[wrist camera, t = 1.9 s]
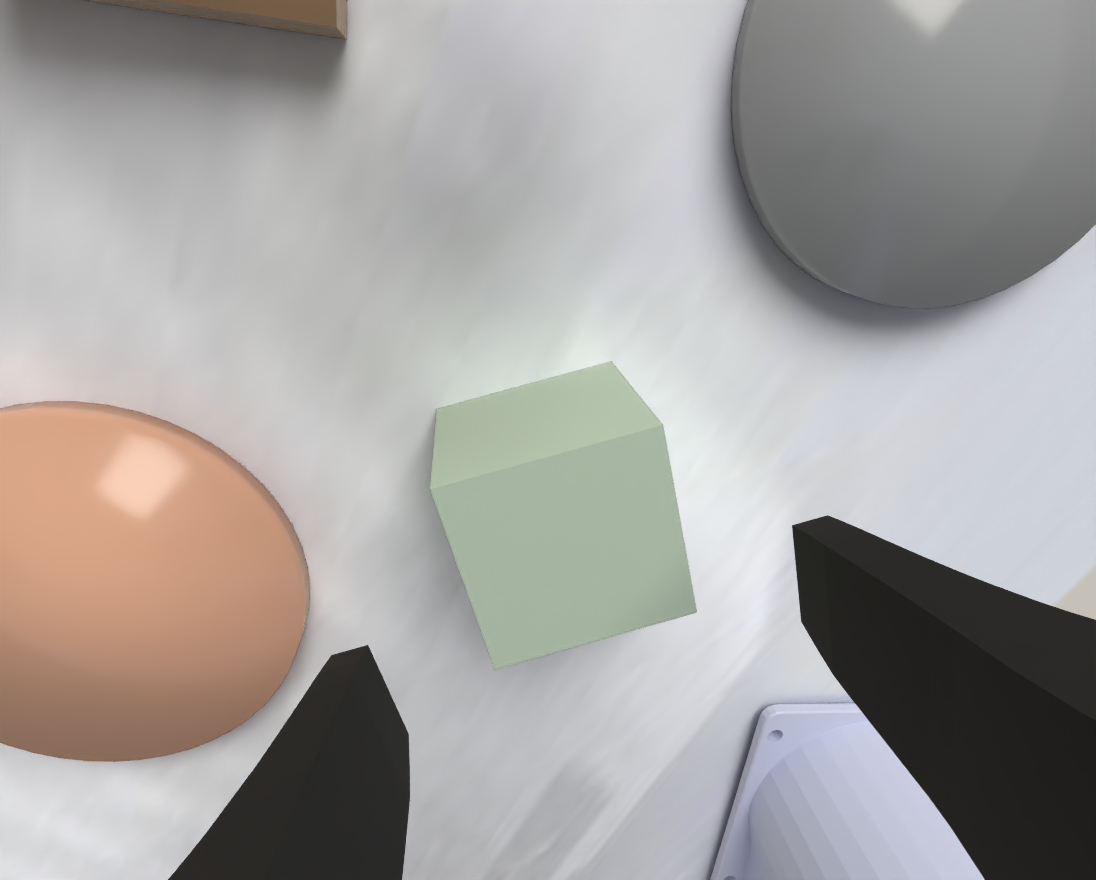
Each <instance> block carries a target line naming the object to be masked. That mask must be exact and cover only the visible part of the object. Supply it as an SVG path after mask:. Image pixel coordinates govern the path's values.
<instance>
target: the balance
mask: <svg viewBox="0 0 1096 880" xmlns="http://www.w3.org/2000/svg"><path fill="white" fill-rule="evenodd" d="M86 1H93V2H99V3H106V4H113V5H120V6H126V7H133V8H140V9H146V10H153V11H160V12H167V13H173V14H180V15H187V16H194V17H200V18H207V19H214V20H220V21H227V22H234V23H241V24H247V25H254V26H261V27H267V28H274V29H281V30H288V31H294V32H301V33H308V34H314V35H321V36H328V37H335V38H341V39H347V0H86Z"/></svg>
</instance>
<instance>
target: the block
mask: <svg viewBox="0 0 1096 880" xmlns="http://www.w3.org/2000/svg"><path fill="white" fill-rule="evenodd" d="M430 491H431V494H432V496H433V499H434V502H435V505H436V507H437V510H438V513H439V516H440V519H441V521H442V524H443V527H444V530H445V533H446V535H447V538H448V541H449V544H450V547H451V549H452V552H453V555H454V558H455V561H456V563H457V566H458V569H459V572H460V575H461V577H462V580H463V583H464V586H465V589H466V591H467V594H468V597H469V600H470V603H471V605H472V608H473V611H474V614H475V616H476V619H477V622H478V625H479V628H480V630H481V633H482V636H483V639H484V642H485V644H486V647H487V650H488V653H489V656H490V658H491V661H492V664H493V667H494V670H495V669H499V668H503V667H506V666H510V665H513V664H517V663H520V662H524V661H527V660H531V659H534V658H538V657H541V656H545V655H548V654H552V653H555V652H559V651H562V650H566V649H570V648H573V647H577V646H580V645H584V644H587V643H591V642H594V641H598V640H601V639H605V638H608V637H612V636H615V635H619V634H622V633H626V632H629V631H633V630H636V629H640V628H644V627H647V626H651V625H654V624H658V623H661V622H665V621H668V620H672V619H675V618H679V617H682V616H686V615H689V614H693V613H696V612H697V610H696V604H695V599H694V593H693V588H692V582H691V577H690V571H689V566H688V560H687V554H686V549H685V543H684V538H683V532H682V527H681V521H680V516H679V510H678V505H677V499H676V493H675V488H674V482H673V477H672V471H671V466H670V460H669V455H668V449H667V444H666V438H665V432H664V427H663V424H662V423H661V422H660V420H659V419H658V418H657V417H656V415H655V414H654V413H653V412H652V411H651V409H650V408H649V407H648V406H647V404H646V403H645V402H644V401H643V399H642V398H641V397H640V396H639V395H638V393H637V392H636V391H635V390H634V388H633V387H632V386H631V385H630V383H629V382H628V381H627V380H626V378H625V377H624V376H623V375H622V374H621V372H620V371H619V370H618V369H617V367H616V366H615V365H614V364H613V362H612V361H610V362H606V363H603V364H599V365H595V366H592V367H588V368H584V369H581V370H577V371H573V372H570V373H566V374H562V375H559V376H555V377H551V378H548V379H544V380H540V381H536V382H533V383H529V384H525V385H522V386H518V387H514V388H511V389H507V390H503V391H500V392H496V393H492V394H489V395H485V396H481V397H478V398H474V399H470V400H467V401H463V402H459V403H456V404H452V405H448V406H445V407H441V408H437V411H436V423H435V435H434V447H433V458H432V470H431V482H430Z"/></svg>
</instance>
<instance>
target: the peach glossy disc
mask: <svg viewBox="0 0 1096 880" xmlns="http://www.w3.org/2000/svg"><path fill="white" fill-rule="evenodd" d="M309 600H310V583H309V574H308V567H307V563H306V559H305V556H304V552H303V548H302V546H301V543H300V541H299V539H298V537H297V534H296V532H295V530H294V527H293V525H292V524H291V522H290V521H289V519H288V517H287V516H286V514H285V513H284V511H283V509H282V508H281V506H280V505H279V503H278V502H277V501H276V500H275V499H274V497H273V496H272V495H271V494H270V492H269V491H268V490H267V489H266V488H265V486H264V485H263V484H262V483H261V482H260V481H259V480H258V479H256V478H255V477H254V476H253V475H252V474H251V473H250V472H249V471H248V470H247V469H246V468H245V467H244V466H243V465H241V464H240V463H239V462H237V461H236V460H235V459H233V458H232V457H231V456H229V455H228V454H227V453H225V452H224V451H223V450H221V449H220V448H218V447H216V446H215V445H213V444H211V443H210V442H208V441H206V440H204V439H203V438H201V437H199V436H198V435H196V434H194V433H192V432H189V431H187V430H185V429H183V428H181V427H179V426H176V425H174V424H172V423H170V422H167V421H164V420H161V419H158V418H156V417H153V416H150V415H147V414H144V413H141V412H137V411H133V410H128V409H124V408H119V407H115V406H110V405H104V404H95V403H86V402H77V401H44V402H35V403H27V404H18V405H12V406H8V407H4V408H0V743H3V744H5V745H8V746H12V747H15V748H19V749H22V750H26V751H29V752H33V753H37V754H43V755H48V756H53V757H58V758H65V759H74V760H83V761H113V762H115V761H130V760H142V759H148V758H154V757H161V756H166V755H170V754H174V753H178V752H181V751H185V750H189V749H192V748H194V747H197V746H199V745H202V744H205V743H207V742H210V741H212V740H214V739H216V738H218V737H220V736H222V735H224V734H226V733H228V732H230V731H231V730H233V729H234V728H236V727H237V726H239V725H240V724H242V723H243V722H245V721H246V720H248V719H249V718H250V717H251V716H253V715H254V714H255V713H256V712H257V711H258V710H259V709H260V708H261V707H263V706H264V705H265V704H266V703H267V701H268V700H269V699H270V698H271V697H272V695H273V694H274V693H275V692H276V691H277V690H278V688H279V687H280V685H281V683H282V682H283V680H284V678H285V677H286V675H287V674H288V672H289V670H290V667H291V665H292V662H293V660H294V657H295V655H296V652H297V650H298V647H299V644H300V641H301V638H302V635H303V632H304V629H305V624H306V620H307V615H308V611H309Z"/></svg>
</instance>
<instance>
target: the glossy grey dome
mask: <svg viewBox="0 0 1096 880" xmlns="http://www.w3.org/2000/svg"><path fill="white" fill-rule="evenodd" d="M731 114H732V126H733V137H734V146H735V150H736V155H737V160H738V164H739V169H740V174H741V176H742V179H743V182H744V185H745V188H746V191H747V194H748V196H749V199H750V202H751V204H752V206H753V207H754V209H755V211H756V213H757V215H758V217H759V219H760V221H761V223H762V225H763V226H764V228H765V229H766V231H767V232H768V233H769V235H770V236H771V238H772V239H773V240H774V242H775V243H776V245H777V246H778V247H779V248H780V249H781V250H782V251H783V252H784V253H785V254H786V255H787V256H788V257H789V258H790V259H791V260H792V261H793V263H794V264H796V265H797V266H798V267H800V268H801V269H802V270H804V271H805V272H806V273H808V274H809V275H810V276H812V277H813V278H815V279H817V280H819V281H820V282H822V283H824V284H826V285H828V286H830V287H832V288H834V289H836V290H839V291H842V292H845V293H848V294H851V295H854V296H857V297H860V298H863V299H866V300H870V301H873V302H876V303H879V304H884V305H890V306H896V307H902V308H938V307H946V306H954V305H958V304H962V303H966V302H970V301H974V300H978V299H982V298H984V297H987V296H989V295H992V294H995V293H997V292H1000V291H1002V290H1005V289H1007V288H1009V287H1011V286H1013V285H1015V284H1017V283H1019V282H1020V281H1022V280H1024V279H1026V278H1028V277H1030V276H1032V275H1033V274H1035V273H1036V272H1038V271H1039V270H1041V269H1042V268H1044V267H1045V266H1047V265H1048V264H1050V263H1051V262H1053V261H1054V260H1056V259H1057V258H1058V257H1060V256H1061V255H1062V254H1063V253H1064V252H1066V251H1067V250H1068V249H1069V248H1071V247H1072V246H1073V245H1074V244H1076V243H1077V242H1078V241H1079V240H1080V239H1081V238H1082V237H1083V236H1084V235H1085V234H1086V233H1087V232H1088V231H1089V230H1090V229H1091V228H1092V227H1094V226H1095V225H1096V0H748V2H747V5H746V8H745V12H744V16H743V20H742V24H741V28H740V32H739V37H738V41H737V46H736V53H735V61H734V68H733V75H732V103H731Z"/></svg>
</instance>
